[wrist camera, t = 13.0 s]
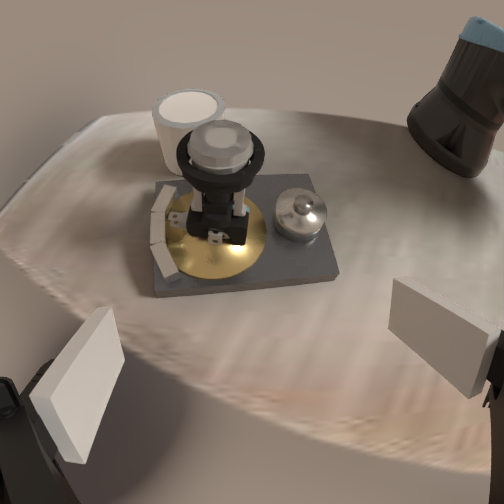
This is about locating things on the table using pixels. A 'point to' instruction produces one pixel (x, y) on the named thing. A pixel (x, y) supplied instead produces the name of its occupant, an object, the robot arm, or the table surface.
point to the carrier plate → (257, 241)
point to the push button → (218, 180)
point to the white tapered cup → (183, 118)
